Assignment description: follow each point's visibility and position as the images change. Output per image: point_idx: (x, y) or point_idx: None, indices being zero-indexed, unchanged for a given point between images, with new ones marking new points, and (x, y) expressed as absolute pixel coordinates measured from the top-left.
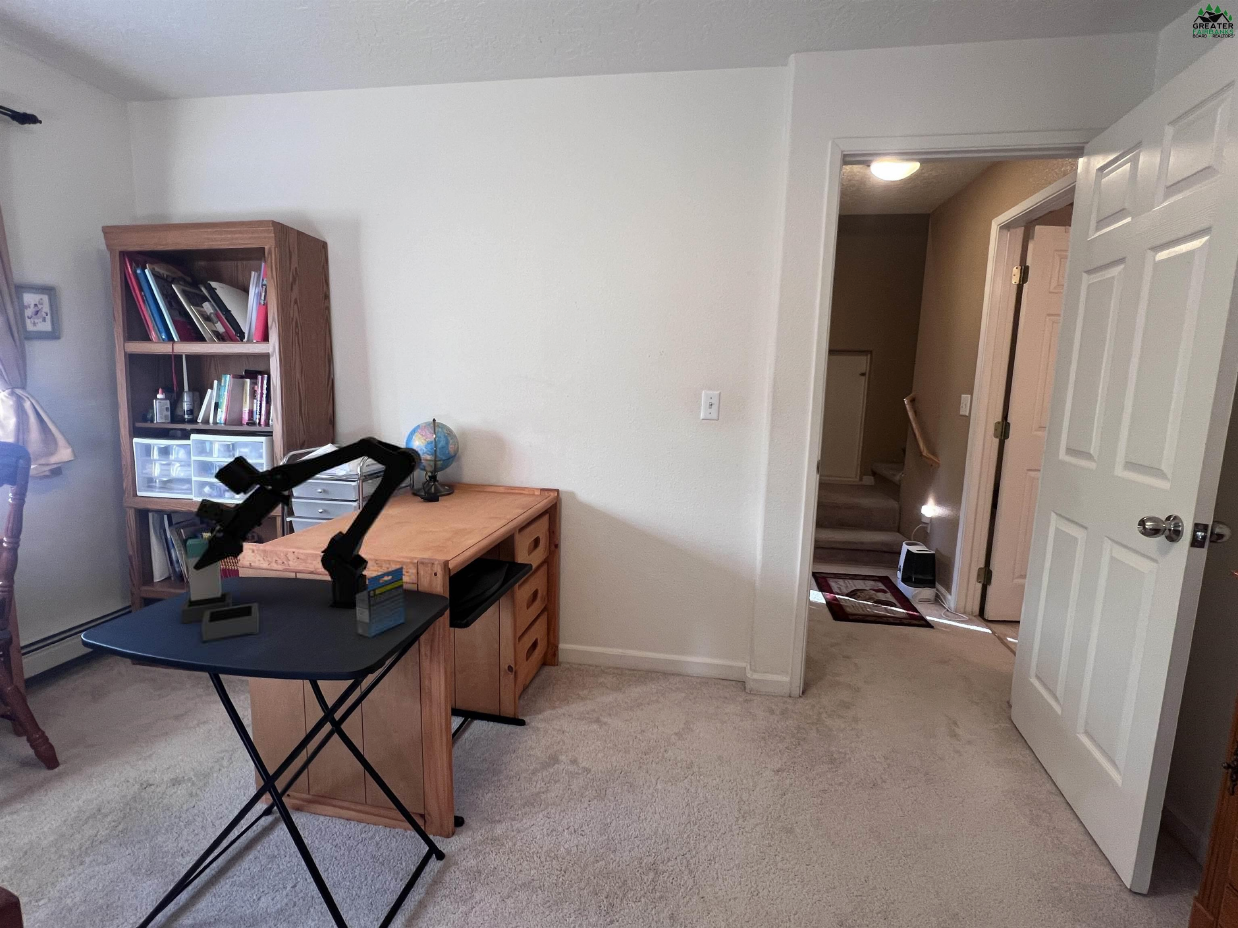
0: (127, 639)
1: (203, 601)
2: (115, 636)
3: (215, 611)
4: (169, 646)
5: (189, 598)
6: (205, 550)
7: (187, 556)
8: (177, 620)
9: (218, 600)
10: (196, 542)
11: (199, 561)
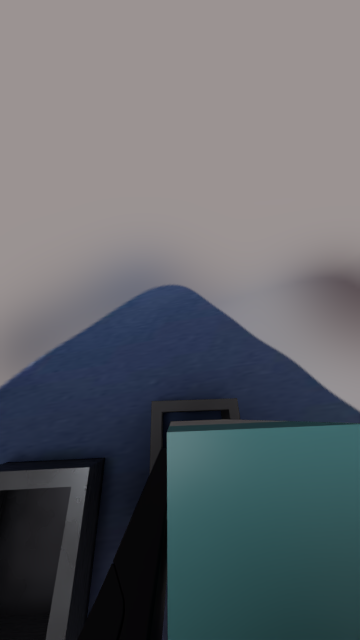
0: (123, 326)
1: None
2: (148, 309)
3: (70, 501)
4: (40, 395)
5: (231, 408)
6: (126, 627)
7: (170, 426)
8: (180, 390)
9: None
10: (219, 552)
11: (140, 500)
